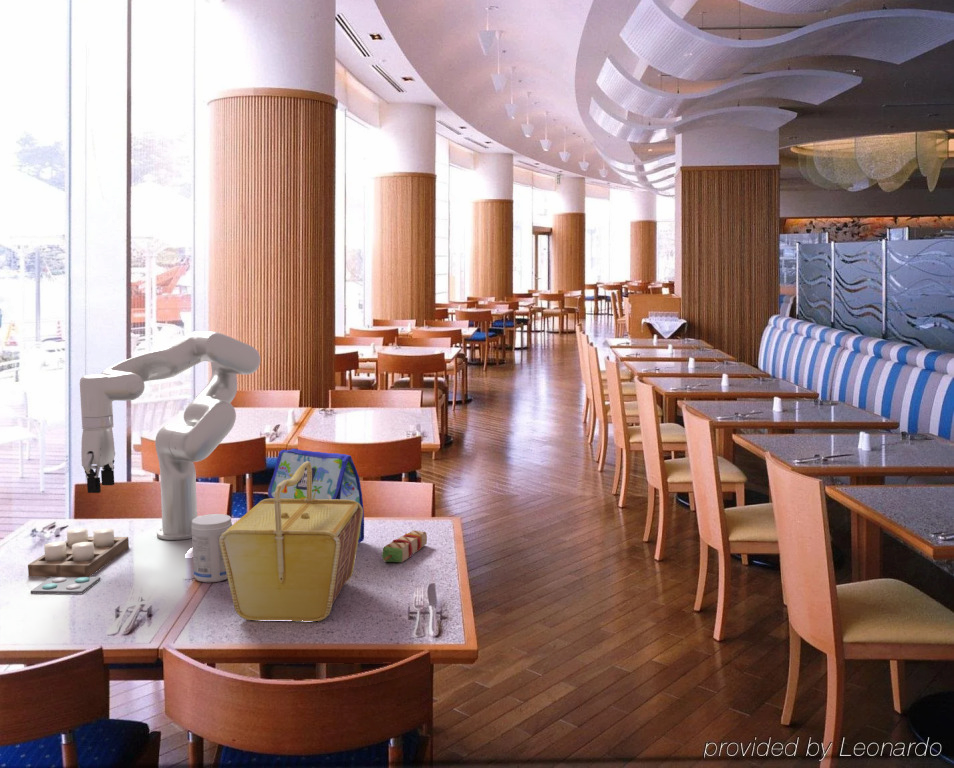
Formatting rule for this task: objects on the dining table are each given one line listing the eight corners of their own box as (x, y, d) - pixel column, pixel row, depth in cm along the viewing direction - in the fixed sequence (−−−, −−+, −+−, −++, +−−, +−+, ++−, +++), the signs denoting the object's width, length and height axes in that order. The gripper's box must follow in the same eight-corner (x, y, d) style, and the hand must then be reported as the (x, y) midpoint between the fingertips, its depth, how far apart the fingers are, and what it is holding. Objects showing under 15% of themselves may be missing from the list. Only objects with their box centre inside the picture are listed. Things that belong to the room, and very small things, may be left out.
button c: (97, 556, 231) (97, 541, 231) (88, 562, 226) (88, 547, 226) (78, 556, 232) (77, 541, 231) (69, 562, 227) (68, 547, 226)
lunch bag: (265, 549, 246) (262, 453, 243) (299, 532, 262) (297, 443, 258) (337, 558, 238) (335, 460, 235) (368, 541, 253) (366, 448, 250)
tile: (100, 579, 222) (100, 575, 222) (81, 593, 212) (81, 590, 212) (51, 578, 222) (51, 575, 222) (30, 593, 212) (30, 589, 212)
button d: (70, 556, 232) (69, 541, 231) (61, 562, 227) (60, 547, 226) (51, 556, 232) (50, 541, 231) (41, 562, 227) (40, 547, 226)
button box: (128, 547, 247) (128, 536, 247) (89, 577, 223) (88, 565, 223) (74, 547, 247) (73, 536, 247) (28, 576, 224) (27, 564, 223)
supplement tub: (230, 568, 230) (228, 511, 228) (238, 580, 221) (236, 521, 220) (190, 574, 226) (188, 516, 224) (196, 586, 217) (194, 525, 215)
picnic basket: (259, 579, 222) (256, 458, 219) (365, 581, 221) (363, 459, 217) (219, 625, 193) (214, 486, 190) (340, 628, 192) (337, 488, 188)
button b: (91, 542, 244) (90, 528, 243) (83, 547, 239) (82, 533, 238) (73, 542, 244) (72, 528, 243) (64, 547, 239) (63, 533, 238)
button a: (117, 542, 243) (116, 528, 243) (109, 548, 238) (108, 534, 238) (98, 542, 243) (98, 528, 243) (90, 548, 239) (89, 533, 238)
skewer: (408, 544, 251) (408, 526, 250) (430, 547, 249) (430, 529, 248) (373, 567, 232) (373, 548, 231) (396, 570, 229) (396, 550, 229)
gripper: (98, 416, 246) (101, 481, 248) (67, 428, 228) (71, 497, 231) (125, 417, 245) (128, 481, 248) (97, 428, 228) (100, 497, 230)
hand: (101, 488), depth 239 cm, fingers open, 7 cm apart
